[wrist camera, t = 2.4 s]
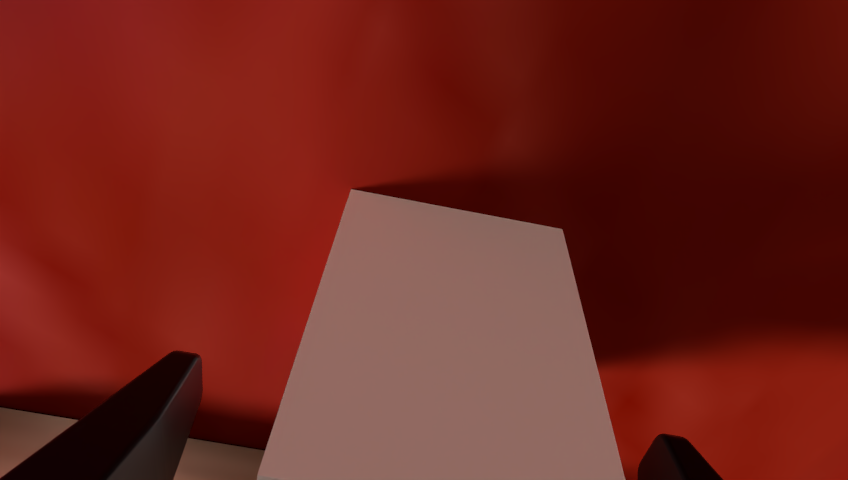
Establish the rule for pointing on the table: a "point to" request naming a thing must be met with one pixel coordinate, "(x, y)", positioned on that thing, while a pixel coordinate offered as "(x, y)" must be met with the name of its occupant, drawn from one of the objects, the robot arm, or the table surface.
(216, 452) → the socket box
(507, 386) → the connector plug
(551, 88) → the table surface
